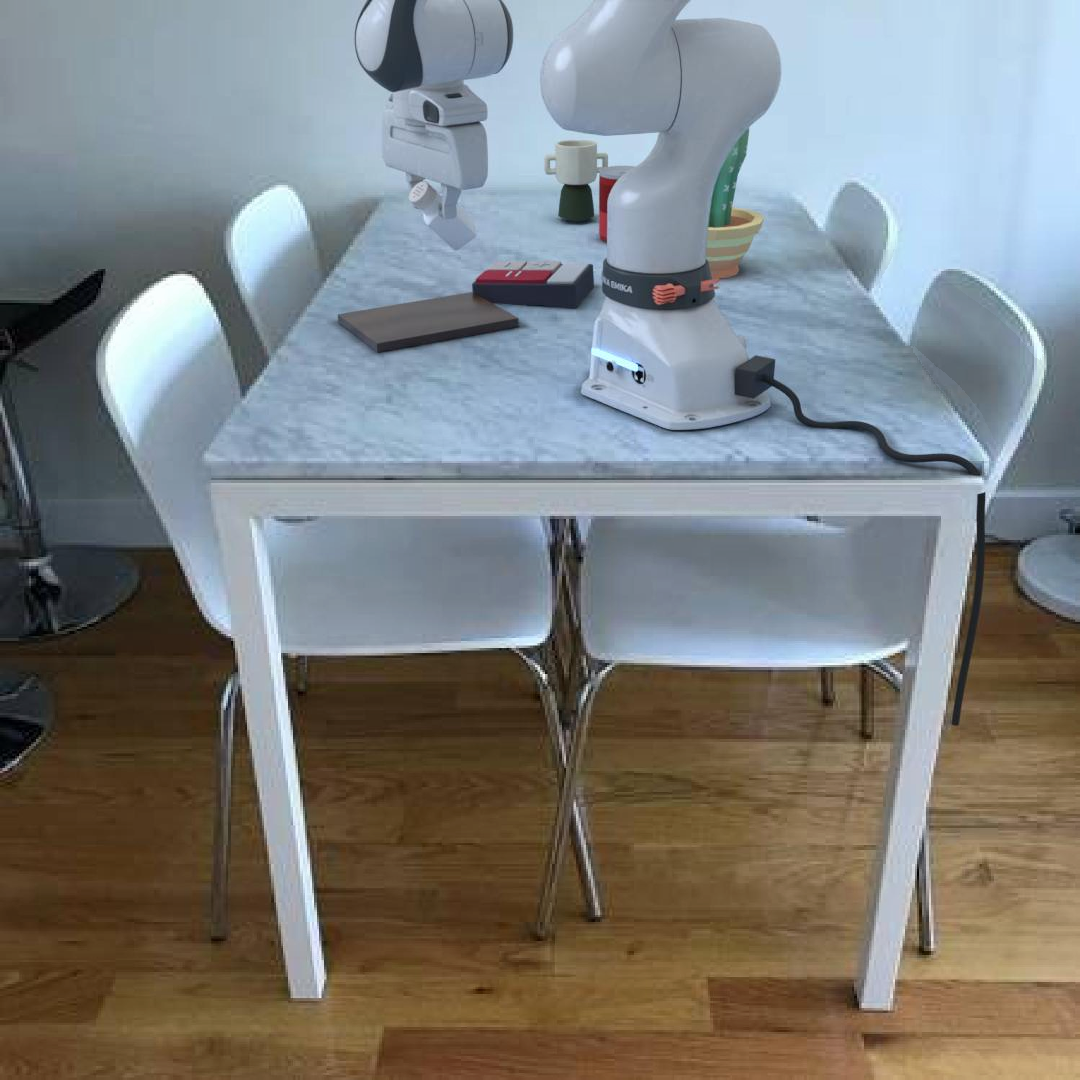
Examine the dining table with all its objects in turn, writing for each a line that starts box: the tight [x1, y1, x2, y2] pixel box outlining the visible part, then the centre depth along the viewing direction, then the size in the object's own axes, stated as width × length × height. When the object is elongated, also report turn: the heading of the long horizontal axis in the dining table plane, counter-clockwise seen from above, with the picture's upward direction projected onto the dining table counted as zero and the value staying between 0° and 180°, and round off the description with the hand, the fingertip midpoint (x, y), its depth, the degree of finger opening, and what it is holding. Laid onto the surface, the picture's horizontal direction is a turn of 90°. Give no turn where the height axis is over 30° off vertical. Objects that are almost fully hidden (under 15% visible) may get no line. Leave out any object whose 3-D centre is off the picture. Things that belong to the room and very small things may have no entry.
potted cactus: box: [706, 126, 765, 279], centre depth 179 cm, size 15×15×25 cm
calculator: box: [471, 260, 595, 310], centre depth 175 cm, size 11×4×15 cm
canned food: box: [598, 165, 637, 243], centre depth 200 cm, size 8×8×11 cm
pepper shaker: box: [408, 180, 478, 251], centre depth 159 cm, size 4×4×10 cm
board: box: [337, 291, 520, 353], centre depth 163 cm, size 14×20×1 cm
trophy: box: [543, 139, 609, 222], centre depth 211 cm, size 11×7×13 cm, turn 95°
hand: (434, 213), depth 158 cm, fingers closed on pepper shaker, 5 cm apart
